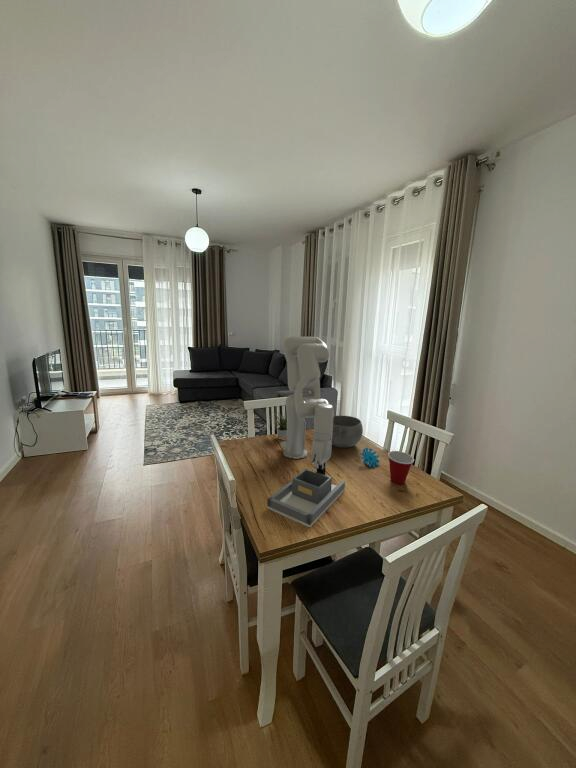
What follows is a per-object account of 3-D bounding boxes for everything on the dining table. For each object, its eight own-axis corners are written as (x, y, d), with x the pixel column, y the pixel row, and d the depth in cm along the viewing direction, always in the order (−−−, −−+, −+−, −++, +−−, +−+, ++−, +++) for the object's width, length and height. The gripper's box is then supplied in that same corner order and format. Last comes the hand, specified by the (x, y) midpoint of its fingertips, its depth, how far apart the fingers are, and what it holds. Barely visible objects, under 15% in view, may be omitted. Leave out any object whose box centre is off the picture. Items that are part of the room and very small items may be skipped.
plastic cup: (405, 491, 126) (408, 464, 123) (380, 481, 133) (383, 455, 131) (415, 481, 133) (418, 456, 131) (392, 472, 141) (394, 448, 138)
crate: (291, 494, 119) (291, 478, 118) (305, 483, 128) (305, 468, 126) (318, 505, 113) (319, 489, 111) (331, 492, 121) (331, 477, 120)
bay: (267, 508, 112) (267, 498, 111) (306, 477, 135) (307, 468, 134) (309, 527, 102) (310, 517, 101) (344, 490, 125) (345, 481, 124)
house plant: (264, 440, 174) (264, 413, 170) (274, 432, 186) (274, 406, 183) (287, 445, 169) (288, 416, 165) (296, 436, 181) (297, 410, 178)
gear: (367, 467, 142) (360, 447, 147) (359, 471, 146) (352, 452, 151) (384, 465, 147) (376, 446, 152) (376, 470, 151) (369, 451, 156)
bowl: (342, 435, 184) (344, 412, 181) (369, 447, 167) (371, 421, 164) (316, 442, 172) (317, 417, 169) (341, 456, 156) (343, 428, 153)
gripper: (323, 427, 130) (321, 467, 133) (305, 438, 117) (303, 481, 121) (339, 431, 126) (336, 472, 129) (322, 443, 113) (320, 487, 117)
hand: (320, 476), depth 125 cm, fingers closed
